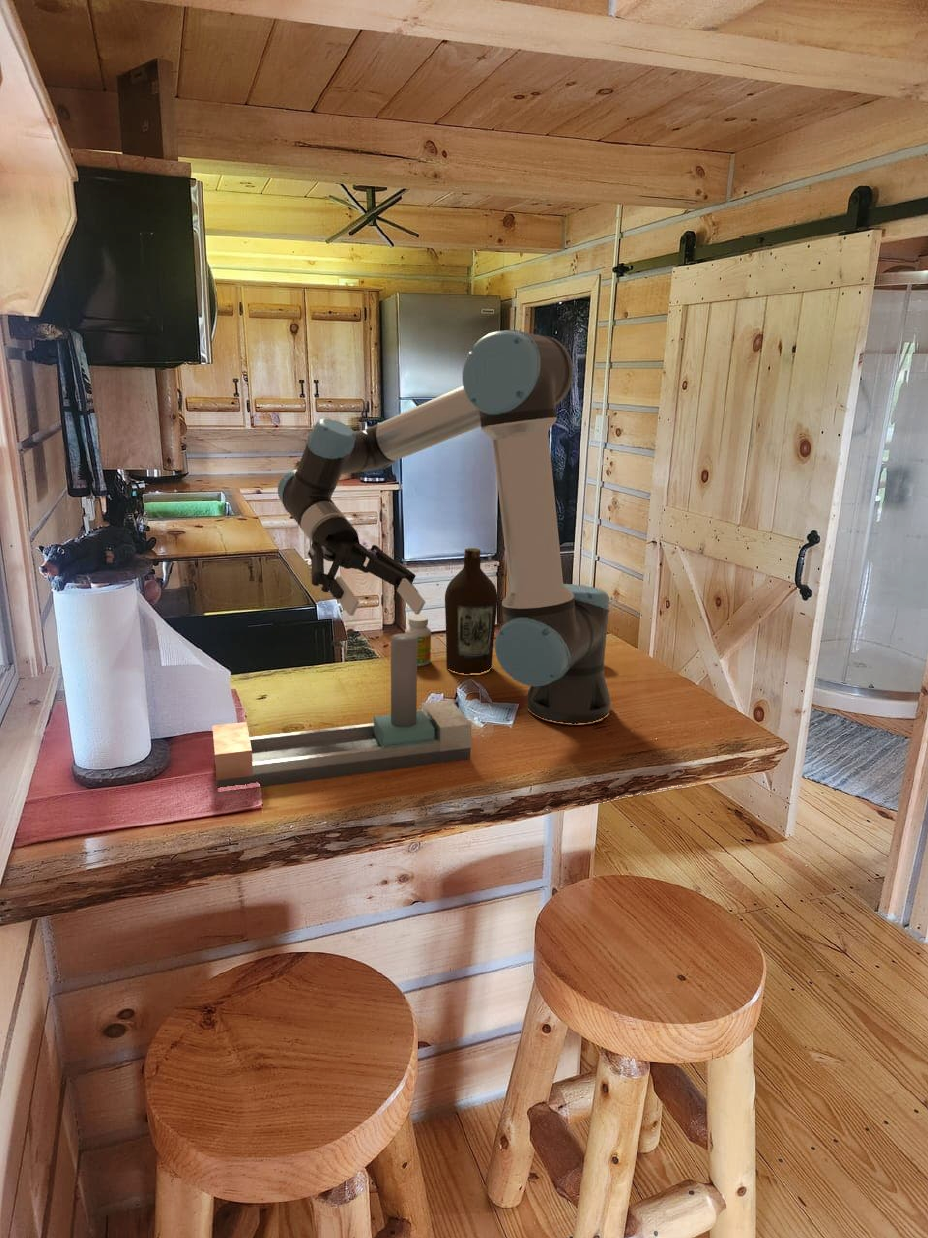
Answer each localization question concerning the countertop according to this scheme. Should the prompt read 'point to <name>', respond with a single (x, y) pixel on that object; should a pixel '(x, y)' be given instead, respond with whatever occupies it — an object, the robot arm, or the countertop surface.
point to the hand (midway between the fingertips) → (388, 608)
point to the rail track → (334, 750)
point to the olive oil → (470, 617)
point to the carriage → (403, 698)
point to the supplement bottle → (421, 638)
